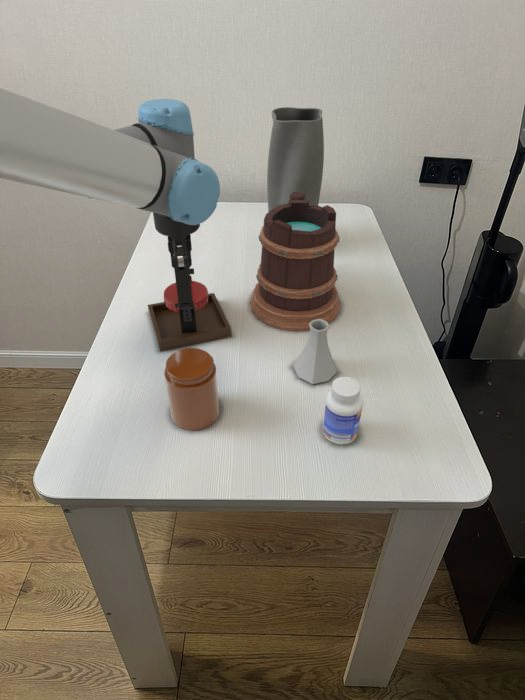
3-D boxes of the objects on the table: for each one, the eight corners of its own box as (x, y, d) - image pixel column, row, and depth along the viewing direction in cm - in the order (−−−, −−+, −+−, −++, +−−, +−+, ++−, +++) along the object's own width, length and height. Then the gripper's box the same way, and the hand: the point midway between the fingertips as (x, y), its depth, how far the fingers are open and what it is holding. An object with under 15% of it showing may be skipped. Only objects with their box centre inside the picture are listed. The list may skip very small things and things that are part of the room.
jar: (176, 435, 74) (168, 386, 67) (167, 401, 80) (158, 352, 73) (224, 423, 76) (221, 374, 69) (212, 390, 82) (208, 341, 75)
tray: (159, 351, 89) (158, 342, 88) (148, 312, 98) (147, 304, 97) (231, 336, 93) (231, 328, 91) (214, 300, 102) (214, 292, 100)
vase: (318, 235, 124) (329, 107, 105) (314, 258, 115) (326, 123, 96) (270, 231, 126) (272, 104, 107) (263, 254, 117) (264, 120, 97)
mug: (333, 270, 111) (343, 184, 98) (344, 331, 94) (358, 236, 81) (252, 269, 111) (251, 182, 99) (248, 330, 94) (246, 235, 81)
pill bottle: (359, 446, 73) (369, 400, 67) (323, 445, 73) (329, 399, 67) (354, 418, 77) (363, 373, 71) (320, 418, 77) (325, 372, 71)
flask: (317, 351, 89) (322, 306, 83) (344, 374, 85) (351, 328, 78) (285, 366, 86) (288, 321, 80) (311, 390, 82) (316, 344, 75)
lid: (213, 290, 94) (212, 282, 93) (201, 315, 88) (200, 307, 87) (172, 286, 95) (171, 278, 94) (158, 310, 89) (156, 301, 88)
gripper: (202, 233, 72) (211, 350, 87) (195, 180, 88) (204, 287, 103) (151, 236, 71) (169, 354, 86) (153, 182, 87) (168, 290, 102)
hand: (188, 317), depth 94 cm, fingers closed on lid, 8 cm apart
